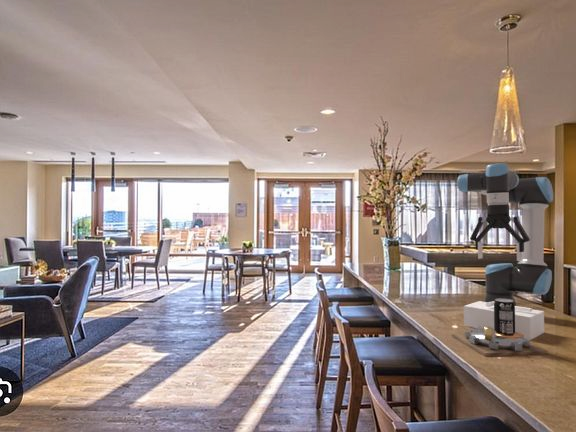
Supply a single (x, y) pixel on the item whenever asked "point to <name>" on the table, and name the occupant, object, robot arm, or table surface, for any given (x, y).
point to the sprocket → (497, 339)
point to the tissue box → (525, 318)
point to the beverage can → (504, 316)
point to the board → (500, 352)
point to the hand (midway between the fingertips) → (499, 259)
